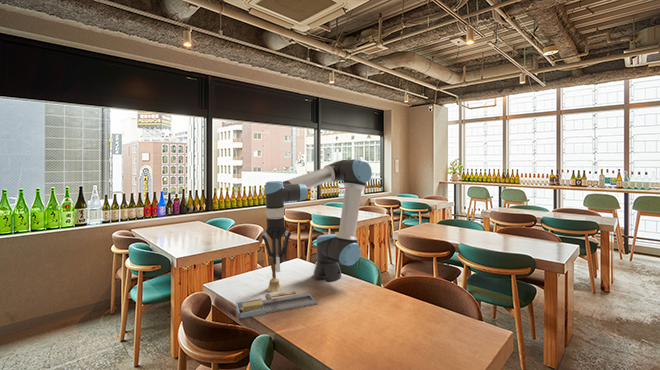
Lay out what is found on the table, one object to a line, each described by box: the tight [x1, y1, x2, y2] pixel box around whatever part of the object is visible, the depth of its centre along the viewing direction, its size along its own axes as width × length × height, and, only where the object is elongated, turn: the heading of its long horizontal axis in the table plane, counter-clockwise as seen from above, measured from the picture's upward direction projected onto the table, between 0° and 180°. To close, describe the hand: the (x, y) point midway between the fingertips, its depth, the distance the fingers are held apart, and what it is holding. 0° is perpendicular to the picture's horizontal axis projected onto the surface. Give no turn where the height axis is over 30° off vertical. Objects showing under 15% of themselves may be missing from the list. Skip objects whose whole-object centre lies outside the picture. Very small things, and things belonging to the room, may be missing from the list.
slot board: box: [262, 292, 318, 315], centre depth 135 cm, size 22×11×2 cm, turn 112°
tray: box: [235, 298, 266, 322], centre depth 129 cm, size 11×11×3 cm
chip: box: [241, 302, 253, 313], centre depth 129 cm, size 4×4×3 cm
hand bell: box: [266, 258, 283, 292], centre depth 151 cm, size 8×8×16 cm
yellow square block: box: [252, 299, 264, 311], centre depth 130 cm, size 4×4×3 cm
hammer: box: [265, 291, 297, 300], centre depth 144 cm, size 13×5×2 cm, turn 110°
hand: (277, 270), depth 135 cm, fingers closed
